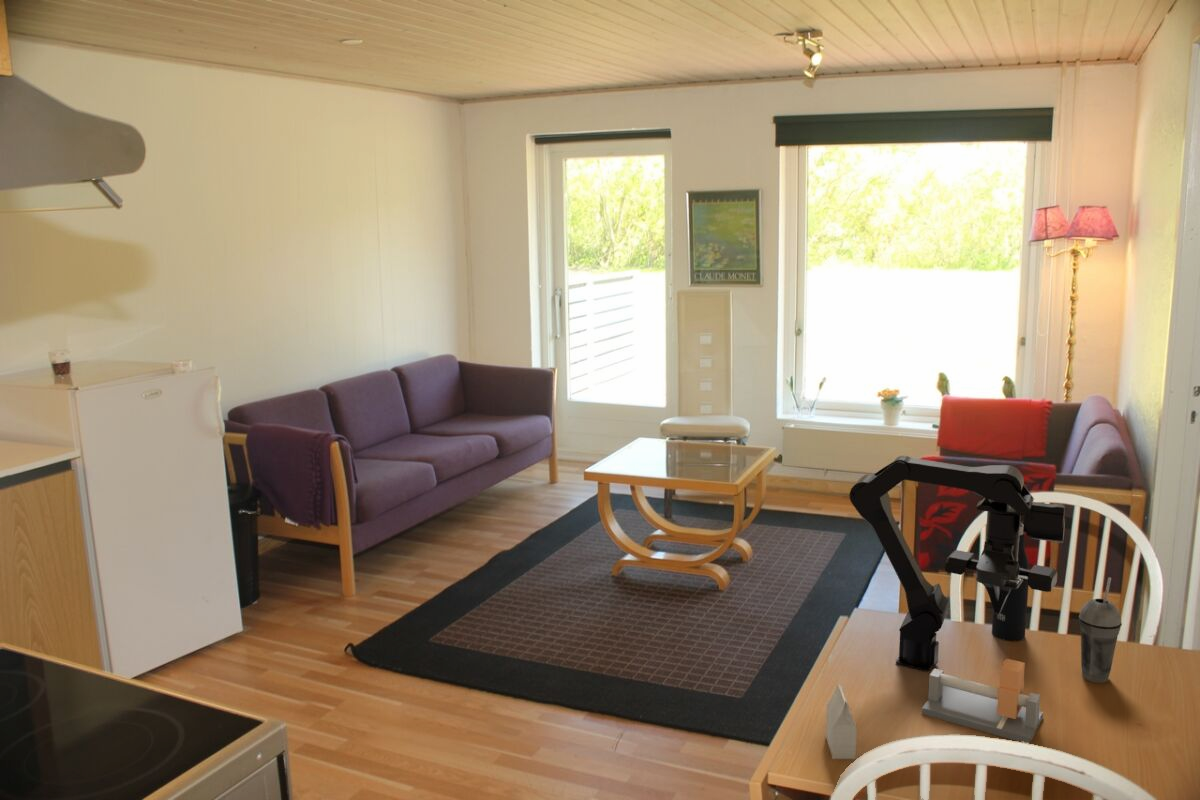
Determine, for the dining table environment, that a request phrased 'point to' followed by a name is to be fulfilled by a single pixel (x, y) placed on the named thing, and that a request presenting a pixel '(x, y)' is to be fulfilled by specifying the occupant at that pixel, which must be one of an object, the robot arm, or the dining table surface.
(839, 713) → the grey gable top carton
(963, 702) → the rail stand
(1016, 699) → the collar
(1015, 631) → the black water bottle
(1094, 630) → the beverage cup
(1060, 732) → the dining table surface
